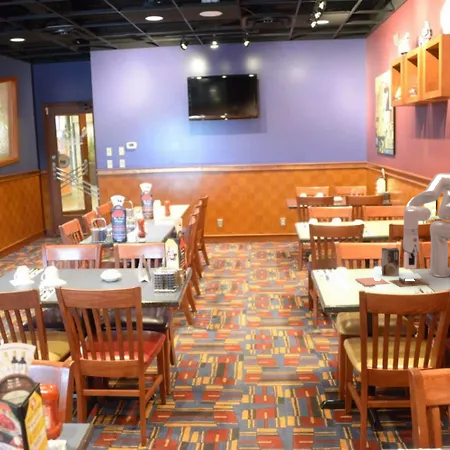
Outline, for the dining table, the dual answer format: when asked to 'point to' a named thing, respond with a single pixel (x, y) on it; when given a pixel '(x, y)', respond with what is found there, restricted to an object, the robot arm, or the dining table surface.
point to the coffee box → (390, 262)
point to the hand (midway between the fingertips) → (410, 263)
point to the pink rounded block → (406, 261)
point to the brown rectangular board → (408, 282)
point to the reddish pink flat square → (370, 281)
